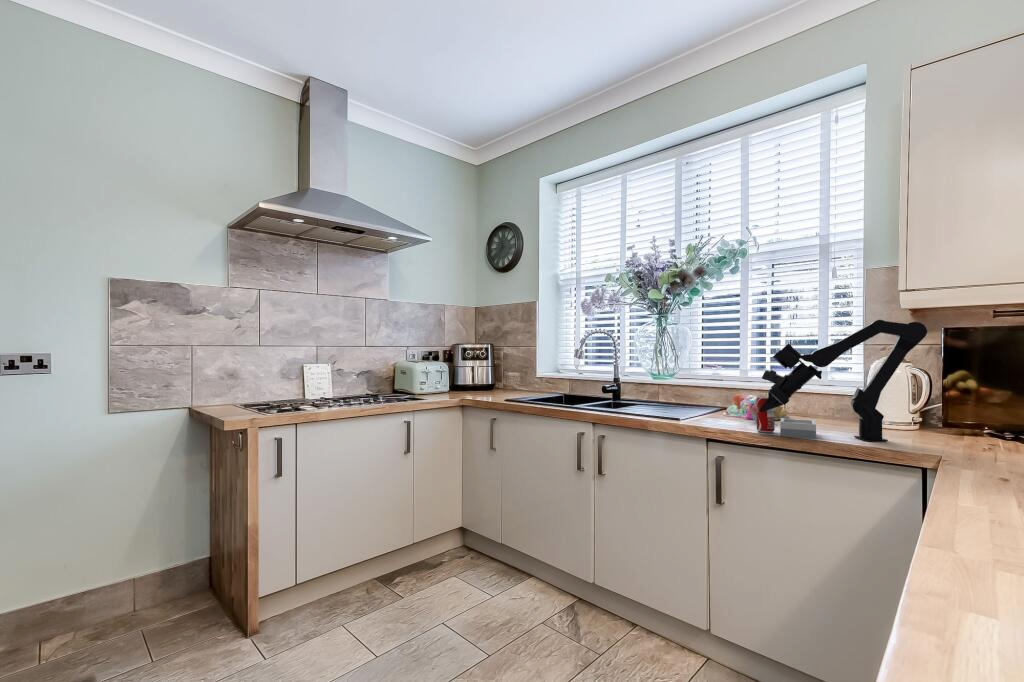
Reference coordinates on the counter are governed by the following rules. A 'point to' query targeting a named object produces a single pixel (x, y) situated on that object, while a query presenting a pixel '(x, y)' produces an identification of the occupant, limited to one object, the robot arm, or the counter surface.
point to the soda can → (764, 416)
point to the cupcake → (753, 410)
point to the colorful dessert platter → (746, 406)
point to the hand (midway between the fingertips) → (760, 410)
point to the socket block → (798, 428)
